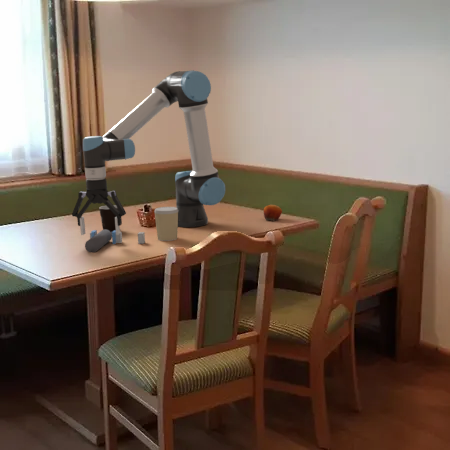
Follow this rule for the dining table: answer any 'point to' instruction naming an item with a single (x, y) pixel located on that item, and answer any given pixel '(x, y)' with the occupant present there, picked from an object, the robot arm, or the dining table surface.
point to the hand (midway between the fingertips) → (100, 234)
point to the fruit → (272, 212)
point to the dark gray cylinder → (98, 240)
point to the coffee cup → (166, 223)
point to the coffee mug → (107, 218)
